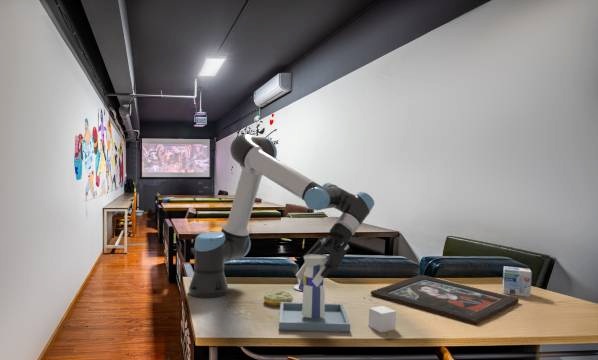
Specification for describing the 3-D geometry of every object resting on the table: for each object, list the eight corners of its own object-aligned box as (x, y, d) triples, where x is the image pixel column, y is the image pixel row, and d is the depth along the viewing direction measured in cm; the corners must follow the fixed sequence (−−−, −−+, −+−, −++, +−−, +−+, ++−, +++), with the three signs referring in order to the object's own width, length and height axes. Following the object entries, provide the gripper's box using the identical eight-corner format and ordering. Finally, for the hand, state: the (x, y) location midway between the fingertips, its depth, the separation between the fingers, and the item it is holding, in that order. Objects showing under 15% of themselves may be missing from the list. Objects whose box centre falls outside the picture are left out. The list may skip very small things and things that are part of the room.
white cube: (381, 332, 131) (381, 313, 131) (368, 326, 137) (369, 308, 136) (395, 329, 135) (396, 311, 134) (382, 323, 140) (383, 305, 140)
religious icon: (417, 279, 200) (418, 273, 200) (519, 304, 168) (519, 296, 168) (367, 296, 172) (367, 288, 172) (477, 329, 140) (478, 320, 140)
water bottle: (303, 319, 135) (305, 241, 135) (298, 310, 143) (300, 237, 143) (328, 318, 137) (330, 241, 136) (321, 309, 145) (323, 237, 145)
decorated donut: (298, 303, 158) (298, 293, 158) (277, 309, 150) (277, 299, 150) (279, 296, 165) (279, 287, 165) (258, 302, 158) (258, 292, 157)
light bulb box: (502, 293, 181) (504, 268, 181) (501, 289, 187) (502, 265, 187) (531, 297, 177) (532, 271, 177) (529, 293, 183) (530, 268, 183)
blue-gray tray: (278, 330, 130) (279, 322, 130) (280, 309, 150) (280, 302, 150) (350, 332, 130) (350, 324, 130) (342, 311, 150) (342, 303, 150)
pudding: (314, 284, 186) (314, 272, 186) (327, 291, 175) (327, 279, 175) (289, 286, 181) (289, 274, 181) (301, 294, 170) (301, 281, 170)
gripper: (371, 240, 141) (333, 296, 131) (329, 232, 157) (293, 280, 148) (360, 225, 137) (320, 281, 128) (319, 218, 154) (281, 267, 144)
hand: (306, 280), depth 138 cm, fingers closed on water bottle, 8 cm apart
